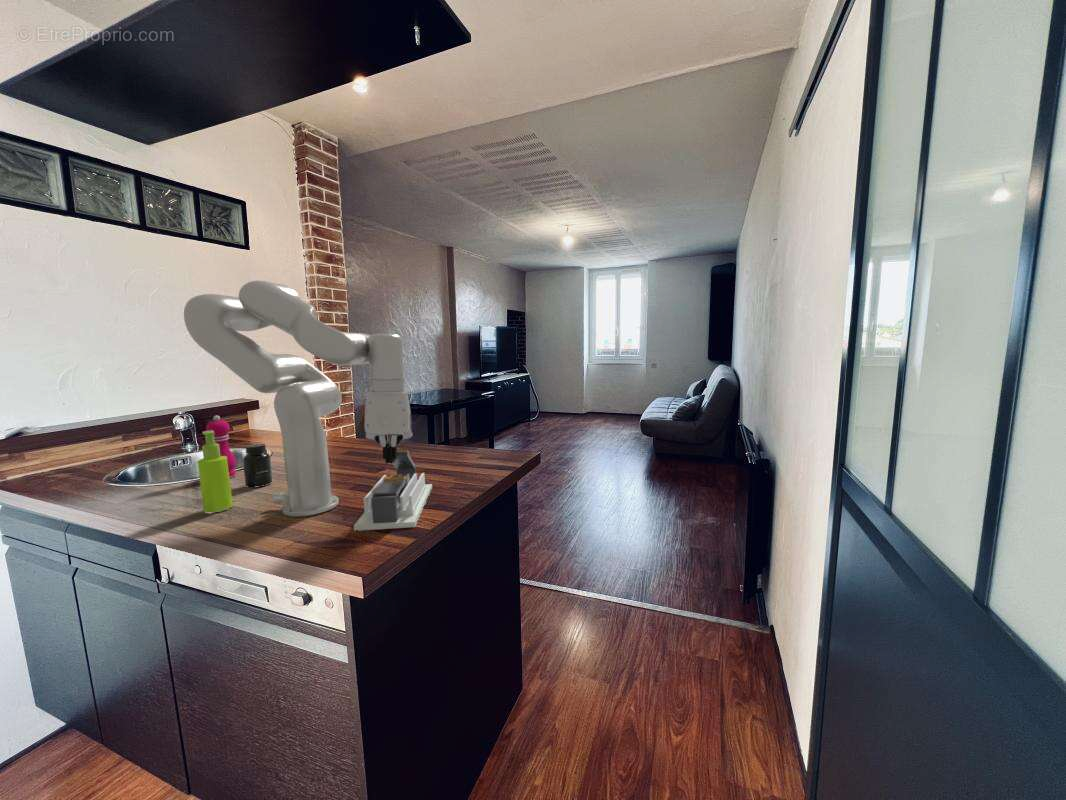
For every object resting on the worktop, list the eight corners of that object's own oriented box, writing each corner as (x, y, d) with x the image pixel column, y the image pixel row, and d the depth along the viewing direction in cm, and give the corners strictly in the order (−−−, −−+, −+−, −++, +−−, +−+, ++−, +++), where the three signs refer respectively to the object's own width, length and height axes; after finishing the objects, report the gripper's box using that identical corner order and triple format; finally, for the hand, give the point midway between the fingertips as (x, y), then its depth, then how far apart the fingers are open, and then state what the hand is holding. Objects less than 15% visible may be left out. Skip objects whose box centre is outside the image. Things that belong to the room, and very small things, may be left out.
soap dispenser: (229, 502, 112) (220, 428, 109) (235, 508, 107) (225, 431, 105) (202, 508, 108) (191, 431, 105) (206, 515, 103) (195, 435, 100)
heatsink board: (354, 530, 92) (351, 500, 91) (384, 490, 118) (383, 466, 117) (415, 527, 93) (413, 496, 92) (432, 488, 119) (430, 464, 118)
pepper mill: (223, 481, 131) (215, 417, 128) (203, 480, 132) (195, 417, 129) (243, 474, 138) (236, 413, 135) (224, 473, 139) (217, 413, 136)
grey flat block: (373, 497, 94) (372, 490, 93) (385, 483, 103) (384, 476, 103) (396, 496, 94) (396, 489, 94) (405, 482, 104) (405, 475, 104)
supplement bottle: (263, 488, 123) (258, 448, 121) (240, 488, 123) (235, 448, 121) (277, 480, 130) (273, 442, 128) (255, 481, 130) (251, 443, 128)
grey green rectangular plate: (386, 456, 106) (387, 450, 107) (396, 469, 115) (396, 463, 116) (407, 455, 107) (407, 449, 107) (414, 468, 115) (415, 462, 116)
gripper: (349, 388, 96) (353, 467, 98) (416, 388, 97) (419, 465, 99) (359, 385, 103) (363, 458, 106) (422, 384, 104) (424, 457, 107)
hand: (390, 461), depth 102 cm, fingers closed
